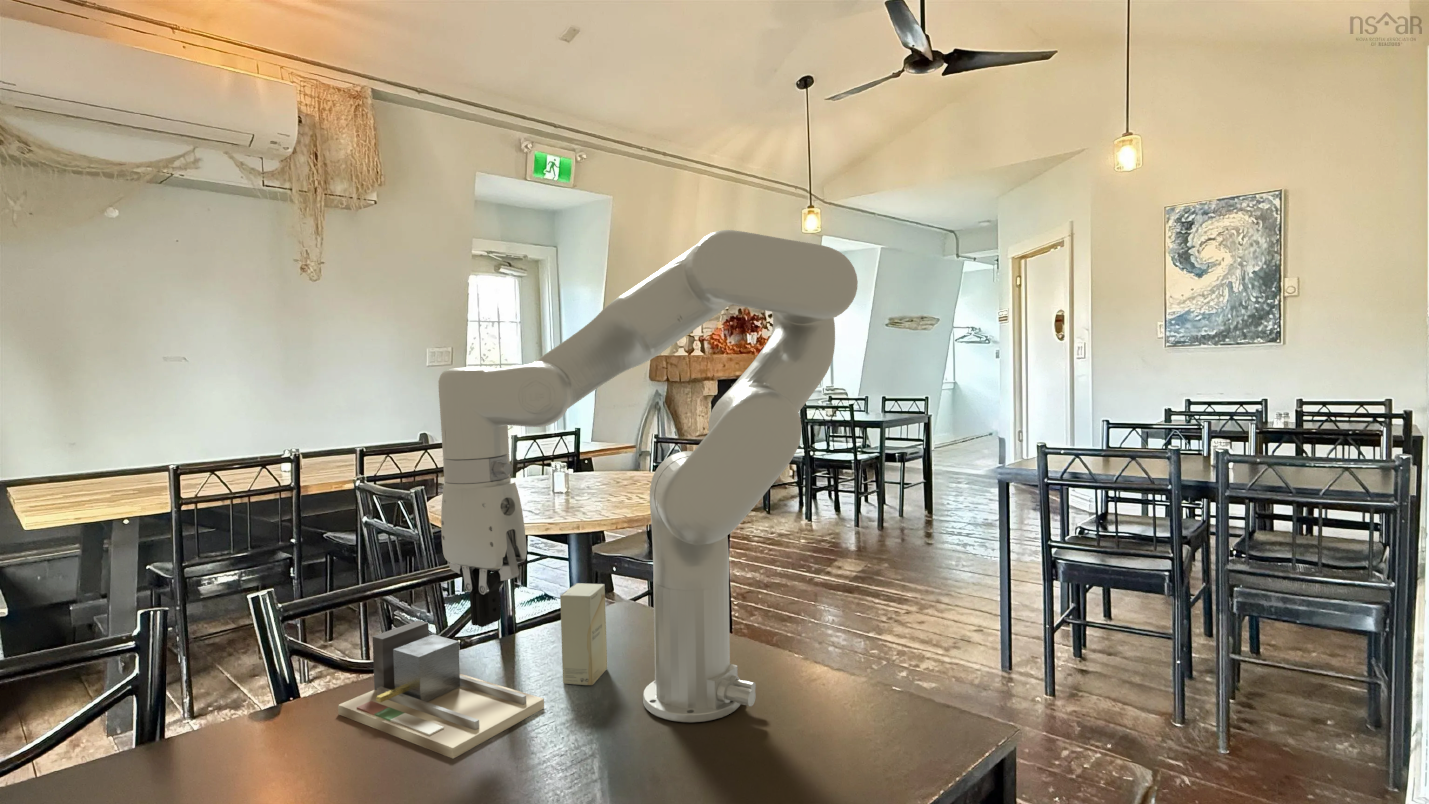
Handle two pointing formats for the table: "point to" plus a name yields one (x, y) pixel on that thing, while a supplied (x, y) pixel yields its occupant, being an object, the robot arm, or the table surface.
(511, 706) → the gauge board
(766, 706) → the table surface
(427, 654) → the block
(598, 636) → the skincare box
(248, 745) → the table surface
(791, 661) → the table surface
